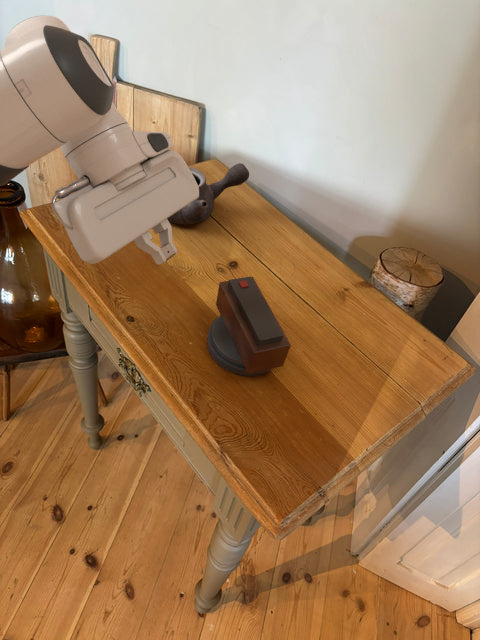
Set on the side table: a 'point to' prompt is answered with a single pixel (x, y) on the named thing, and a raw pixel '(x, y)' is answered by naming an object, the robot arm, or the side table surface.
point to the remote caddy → (248, 327)
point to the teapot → (208, 195)
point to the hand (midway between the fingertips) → (168, 259)
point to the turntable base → (225, 363)
